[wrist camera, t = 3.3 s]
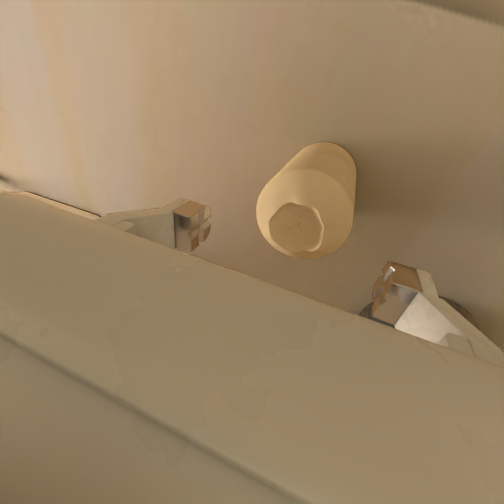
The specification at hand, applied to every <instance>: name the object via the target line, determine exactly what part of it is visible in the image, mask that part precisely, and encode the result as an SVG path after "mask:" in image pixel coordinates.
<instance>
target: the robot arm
mask: <svg viewBox="0 0 504 504" xmlns="http://www.w3.org/2000/svg"><path fill="white" fill-rule="evenodd" d="M210 216H211V209H210V207H209V206H206V205H203V204H200V203H197V202H193V201H191V200H187V199H184V198H180V199H178V200H176V201H175V202H173V203H171V204H169V205H167V206H166V207H164V208H162V209H160V208H154V209H145V210H136V211H128V212H119V213H110V214H107V215H105V216H103V217H99V216H97V215H95V214H92V213H89V212H86V211H83V210H80V209H77V208H74V207H71V206H68V205H65V204H62V203H59V202H56V201H53V200H50V199H47V198H44V197H41V196H38V195H35V194H32V193H29V192H25V191H22V192H20V193H17V192H0V504H504V353H503V351H502V350H501V349H500V348H499V347H498V346H497V345H495V344H494V343H493V342H492V341H491V340H490V339H488V338H487V337H486V336H485V335H484V334H483V333H482V332H480V331H479V330H478V329H477V328H476V327H475V326H473V325H472V324H471V323H470V322H469V321H468V320H467V319H465V318H464V317H463V316H462V315H461V314H460V313H458V312H457V311H456V310H455V309H454V308H453V307H452V306H450V305H449V304H448V303H447V302H446V301H445V300H443V299H441V298H439V297H438V294H437V291H436V288H435V285H434V282H433V280H432V277H431V274H430V273H429V272H426V271H422V270H418V269H415V268H412V267H408V266H405V265H401V264H398V263H394V262H390V261H388V262H387V263H386V264H385V266H384V268H383V275H382V276H380V277H378V278H377V280H376V282H375V285H374V287H373V291H372V299H373V300H374V303H373V305H372V317H374V318H377V319H379V320H382V321H385V322H387V323H390V324H392V325H395V328H396V329H395V328H392V327H389V326H387V325H384V324H381V323H378V322H375V321H373V320H370V319H367V318H364V317H362V316H359V315H356V314H353V313H350V312H348V311H345V310H342V309H339V308H337V307H334V306H331V305H328V304H325V303H323V302H320V301H317V300H314V299H312V298H309V297H306V296H303V295H300V294H298V293H295V292H292V291H289V290H287V289H284V288H281V287H278V286H275V285H273V284H270V283H267V282H264V281H262V280H259V279H256V278H253V277H250V276H248V275H245V274H242V273H239V272H237V271H234V270H231V269H228V268H225V267H223V266H220V265H217V264H214V263H212V262H209V261H206V260H203V259H201V258H198V257H195V256H192V255H189V254H187V253H184V252H181V251H178V250H176V249H173V248H175V247H177V248H180V249H183V250H186V251H189V252H192V251H193V250H194V249H195V248H196V247H197V246H199V242H201V241H204V240H205V239H206V238H207V237H208V235H209V232H210V227H211V224H210V222H209V220H208V218H209V217H210Z"/></svg>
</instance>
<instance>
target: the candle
mask: <svg viewBox="0 0 504 504" xmlns="http://www.w3.org/2000/svg"><path fill="white" fill-rule="evenodd" d="M356 179H357V173H356V166H355V163H354V160H353V159H352V157H351V156H350V154H349V153H348V152H347V151H346V150H345V149H343V148H342V147H340V146H339V145H336V144H333V143H329V142H319V143H314V144H311V145H309V146H307V147H305V148H304V149H302V150H301V151H300V152H299V153H297V154H296V155H295V156H294V157H293V158H292V159H291V160H290V161H289V162H288V163H287V164H286V165H285V166H284V167H283V168H282V169H281V170H280V171H279V172H278V173H277V174H276V175H275V176H274V177H273V178H272V179H271V180H270V181H269V182H268V183H267V184H266V186H265V187H264V188H263V190H262V191H261V193H260V196H259V198H258V201H257V207H256V217H257V222H258V226H259V228H260V230H261V232H262V234H263V236H264V237H265V238H266V240H267V241H268V242H269V243H270V244H271V245H272V246H273V247H274V248H276V249H277V250H279V251H280V252H282V253H284V254H286V255H289V256H292V257H295V258H301V259H313V258H319V257H323V256H325V255H328V254H330V253H332V252H334V251H335V250H336V249H338V248H339V247H340V246H341V245H342V244H343V243H344V242H345V240H346V239H347V237H348V236H349V234H350V231H351V229H352V225H353V217H354V204H355V192H356Z"/></svg>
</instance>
